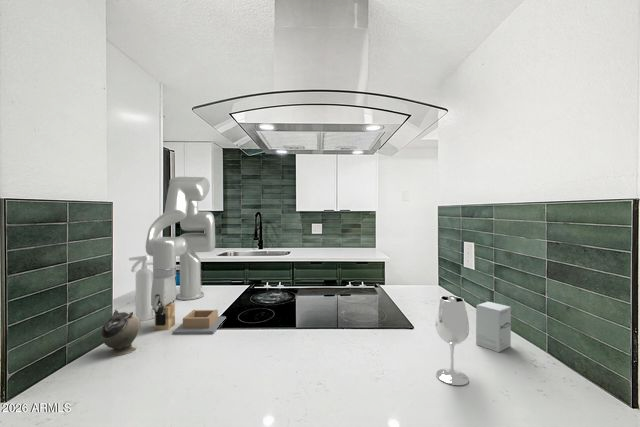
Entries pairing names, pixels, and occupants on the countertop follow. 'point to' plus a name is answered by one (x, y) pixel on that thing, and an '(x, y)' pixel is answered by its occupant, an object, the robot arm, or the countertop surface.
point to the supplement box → (493, 326)
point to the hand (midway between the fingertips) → (164, 321)
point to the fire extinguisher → (143, 288)
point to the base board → (200, 322)
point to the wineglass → (452, 334)
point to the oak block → (167, 317)
